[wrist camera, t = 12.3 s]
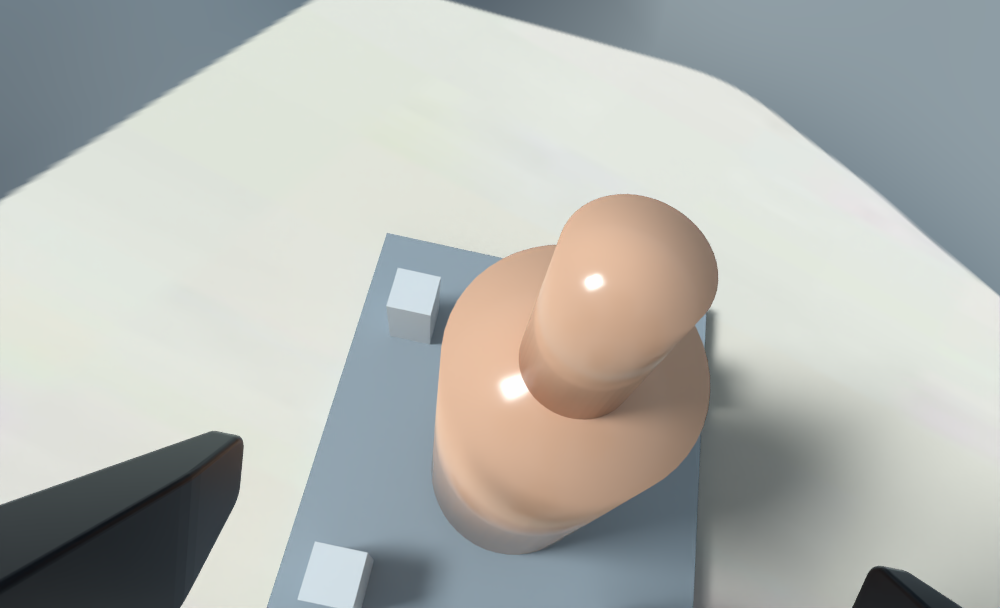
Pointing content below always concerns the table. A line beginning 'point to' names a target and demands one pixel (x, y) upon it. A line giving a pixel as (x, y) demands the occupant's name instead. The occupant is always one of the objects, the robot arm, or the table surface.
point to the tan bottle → (573, 375)
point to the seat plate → (410, 495)
